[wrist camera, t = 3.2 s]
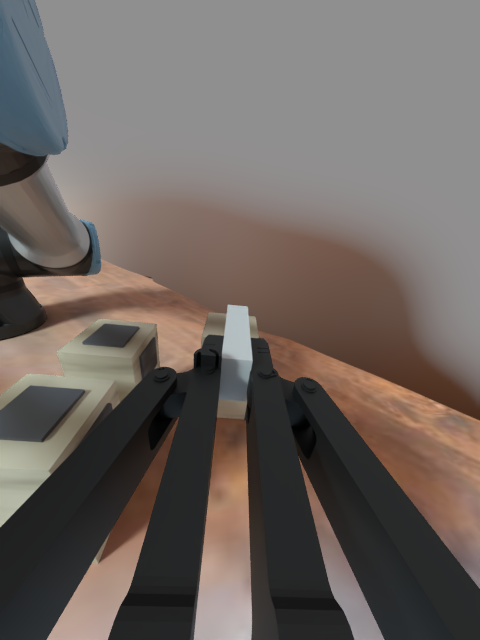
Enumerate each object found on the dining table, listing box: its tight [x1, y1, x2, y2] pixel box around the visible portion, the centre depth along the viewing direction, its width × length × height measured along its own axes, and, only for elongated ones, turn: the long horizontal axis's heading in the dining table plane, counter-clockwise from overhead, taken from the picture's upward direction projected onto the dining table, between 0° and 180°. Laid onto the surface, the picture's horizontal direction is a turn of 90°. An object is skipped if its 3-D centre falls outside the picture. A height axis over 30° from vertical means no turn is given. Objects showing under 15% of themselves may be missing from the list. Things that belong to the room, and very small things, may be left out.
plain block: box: [201, 312, 259, 419], centre depth 32 cm, size 7×7×14 cm
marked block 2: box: [0, 373, 120, 563], centre depth 18 cm, size 7×7×14 cm
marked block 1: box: [57, 319, 160, 402], centre depth 27 cm, size 7×7×14 cm
